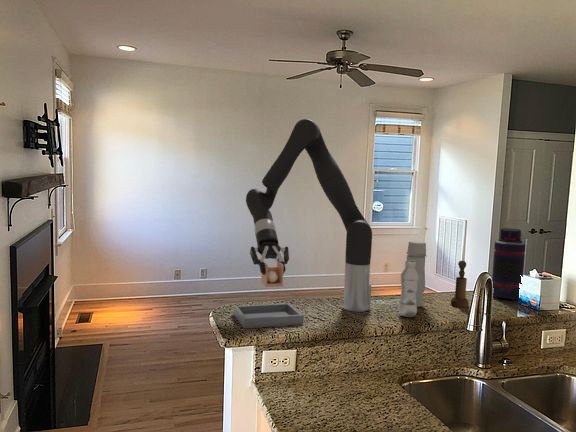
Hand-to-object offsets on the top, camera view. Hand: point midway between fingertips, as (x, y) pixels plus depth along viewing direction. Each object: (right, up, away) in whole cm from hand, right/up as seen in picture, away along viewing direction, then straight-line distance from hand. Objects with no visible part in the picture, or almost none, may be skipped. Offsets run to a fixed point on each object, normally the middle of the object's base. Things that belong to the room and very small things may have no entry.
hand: (273, 273), depth 158 cm
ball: (-1, -2, +2) cm, 3 cm away
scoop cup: (-1, -4, +2) cm, 5 cm away
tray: (-2, -15, -1) cm, 16 cm away
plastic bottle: (+48, -17, +8) cm, 51 cm away
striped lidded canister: (+99, -16, +43) cm, 109 cm away
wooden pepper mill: (+73, -16, +27) cm, 80 cm away
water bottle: (+55, -16, +25) cm, 62 cm away
